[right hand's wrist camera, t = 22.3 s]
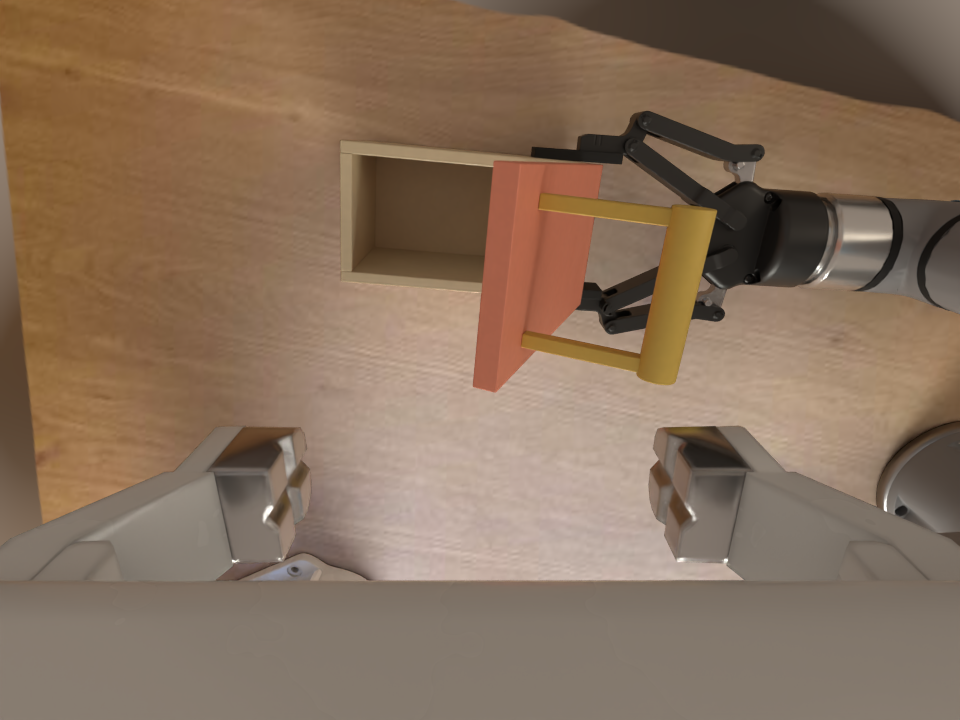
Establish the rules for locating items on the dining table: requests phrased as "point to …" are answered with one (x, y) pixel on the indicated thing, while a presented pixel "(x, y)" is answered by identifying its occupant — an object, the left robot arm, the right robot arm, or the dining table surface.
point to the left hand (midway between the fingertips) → (526, 222)
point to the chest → (416, 214)
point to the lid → (575, 271)
